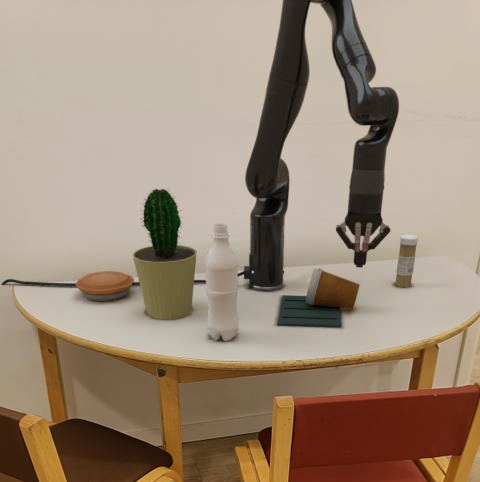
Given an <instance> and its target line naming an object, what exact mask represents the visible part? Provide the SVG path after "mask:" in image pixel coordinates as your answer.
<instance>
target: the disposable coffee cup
mask: <svg viewBox="0 0 480 482" xmlns="http://www.w3.org/2000/svg"><path fill="white" fill-rule="evenodd" d="M307 287H308V288H307V291H306V295H305V296H306V302H305V303H307V304H309V305H310V306H311V305H320V306H329V307H337V308H340V309H346V310H347V309H348V310H354V308H355V304H356V302H357V298H358V294H359V291H360V287H361V285H360V283H358V282H354V281H352V280H349V279H347V278H343V277H341V276H339V275H336V274H333V273H331V272H327V271H325V270H323V269H322V268H321V267H319V268H313V270H312V273H311V276H310V281H309V284H308V286H307Z"/></svg>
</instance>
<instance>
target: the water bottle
mask: <svg viewBox="0 0 480 482" xmlns="http://www.w3.org/2000/svg"><path fill="white" fill-rule="evenodd" d="M228 226H229V225H228V224H227V223H215V224H213V226H212V227H213V232H212V238H213V240H212V244H211V247H210V249H209V251H208V252H207V256H206V258H205V261H204V267H205V280H206V283H205V292H206V296H207V301H208V311H207V312H208V314H207V318H206V327H207V330H208V334H209V336H210V337H211V338H212V339H213V340H214V341H218V340H219V339H220V337H221V338H222V340H223V342H226V341H227V342H228V341H230V340H232V339H233V338H235V337H236V336H237V334H238V332H239V327H240V319H239V315H238V308H237V299H238V298H237V297H238V291H239V282H238V281H239V279H238V278H239V277H238V273H239V272H238V271H239V270H238V268H239V262H238V259H237V256H236V254H235V252H234V250H233V248H232V246H231V244H230V241H229V238H230V235H229V231H228V230H229V227H228Z"/></svg>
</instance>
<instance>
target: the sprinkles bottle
mask: <svg viewBox="0 0 480 482" xmlns="http://www.w3.org/2000/svg"><path fill="white" fill-rule="evenodd" d="M418 242H419V237H418V236H417V235H414V234H403V235H401V236H400V238H399V251H398V258H397V265H396V266H397V267H396V275H395V282H394V285H395V286H396V287H400V288H408V287H411V286H412V279H413V273H414V267H415V262H416V261H415V260H416V259H415V258H416V252H417V251H416V250H417V246H418Z"/></svg>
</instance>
